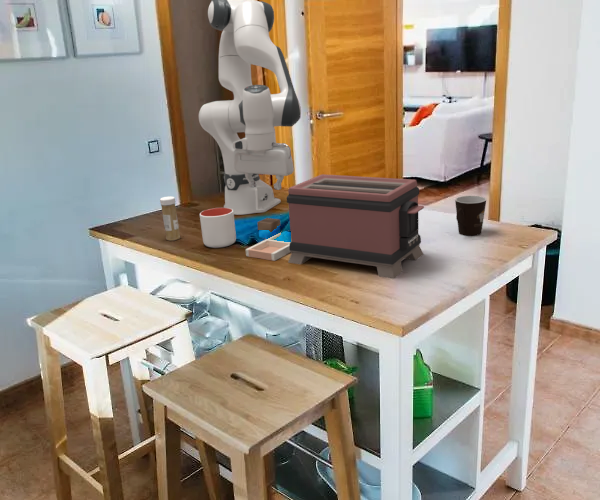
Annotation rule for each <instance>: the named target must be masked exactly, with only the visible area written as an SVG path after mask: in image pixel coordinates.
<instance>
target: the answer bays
mask: <svg viewBox="0 0 600 500" xmlns="http://www.w3.org/2000/svg"><path fill="white" fill-rule="evenodd" d="M281 232H282V231H281ZM281 232H280V233H278V234H276V235H274V236H272V237H270V238H268V239H266V238H265V239H264V240H262V241H259V242H258V243H256V244H254V245H252V246H249V247H247V248H245V255H246V257H250V258H256V259H262V260H267V261H277V260H279V259H281V258H283V257H285V256H286V255H288V254H291V251H290V250H289V246H290V243H291V242H284V241H277V240H274V239H276V238H277V237H279V236H280V235H281Z"/></svg>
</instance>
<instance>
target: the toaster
mask: <svg viewBox="0 0 600 500" xmlns="http://www.w3.org/2000/svg"><path fill="white" fill-rule="evenodd" d="M287 192H288V195H287V196H286V203H287V204H288V205H287V206H288V216H289V228H290V229H289V231H291V243H290V246H289V250H290V251H291V252H290V256H289V259H288V261H287V263H289V264H295V265H302V264H305V263H306V262H308V261H309V260H311V259H312V258H316V259H323V260H329V261H336V262H337V261H338V262H343V263H351V264H356V265H357V264H359V265H365V266H371V267H372V266H373V267H376V270H377V275H378V277H379V278H387V279H392V280H393V279H396V278H397V277H398V276H399V275H401V274H402V273H403V267H402V261H403V260H411V261H412V260H413V261H417V260H419V259H420V258H421V257H422V256H423V255H424V252H423V250H422V249H421V246H420V244H421V243H422V237H421V235H420V234H419V212H420V211H422V210H423V209H424V208H425V206H424V205H420V204H419V195H420V188H419V187H418V182H417V179H407V178H390V177H389V178H388V177H374V176H373V177H372V176H354V175H338V174H337V175H336V174H323V173H322V174H319V175H317V176H314V177H313V178H310V179H307V180H305V181H303V182H300V183H297V184H295V185H292V186H290V187H288V190H287Z"/></svg>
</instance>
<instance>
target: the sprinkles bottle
mask: <svg viewBox="0 0 600 500" xmlns="http://www.w3.org/2000/svg"><path fill="white" fill-rule="evenodd" d="M159 202H160V203H159V204H160V206H161V212H162V219H163V226H164V230H165V231H164V232H165V236H166V237H165V239H166V240H167V241H171V242H172V241H177V240H179V239H181V234H180V229H179V227H180V226H179V221H178V214H177V208H176V197H175V196H163V197H160V199H159Z"/></svg>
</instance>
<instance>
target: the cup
mask: <svg viewBox="0 0 600 500" xmlns="http://www.w3.org/2000/svg"><path fill="white" fill-rule="evenodd" d="M199 218H200V219H199V222H200V227H201V235H202V242H203V244H204V246H206V247H208V248H214V249H220V248H225V247H228V246H232V245H233V244H235V243H236V240H237V234H236V224H235V214H233V210H232V209H230V208H224V207H215V208H213V207H212V208H209V209H205V210H202V211H201V212H200V213H199Z"/></svg>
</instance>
